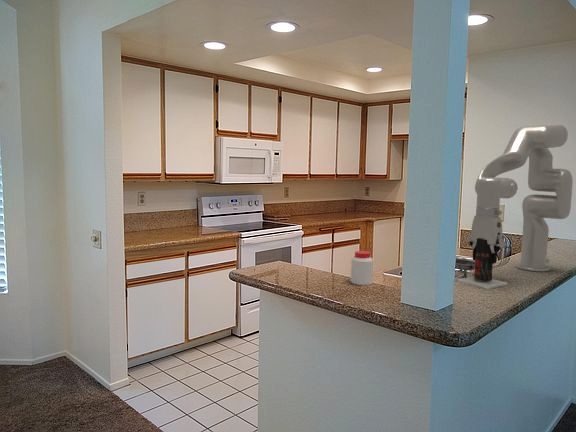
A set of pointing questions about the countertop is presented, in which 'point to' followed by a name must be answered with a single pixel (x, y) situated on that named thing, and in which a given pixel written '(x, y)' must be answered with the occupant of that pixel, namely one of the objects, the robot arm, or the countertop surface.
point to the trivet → (482, 283)
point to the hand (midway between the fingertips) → (484, 261)
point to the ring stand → (465, 266)
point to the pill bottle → (362, 268)
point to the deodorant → (483, 261)
